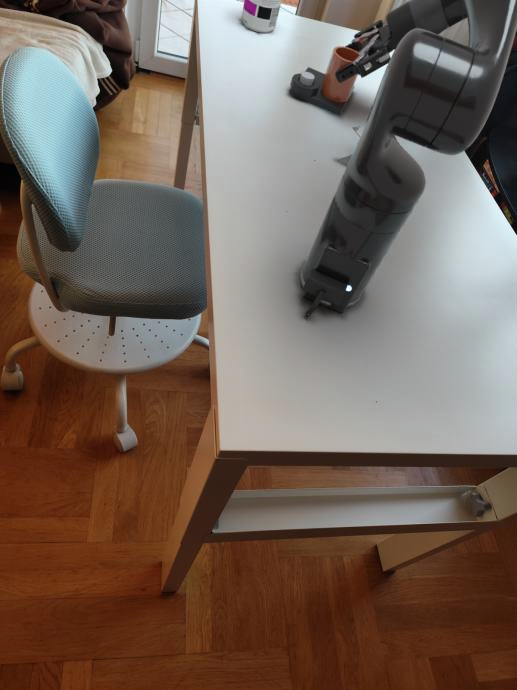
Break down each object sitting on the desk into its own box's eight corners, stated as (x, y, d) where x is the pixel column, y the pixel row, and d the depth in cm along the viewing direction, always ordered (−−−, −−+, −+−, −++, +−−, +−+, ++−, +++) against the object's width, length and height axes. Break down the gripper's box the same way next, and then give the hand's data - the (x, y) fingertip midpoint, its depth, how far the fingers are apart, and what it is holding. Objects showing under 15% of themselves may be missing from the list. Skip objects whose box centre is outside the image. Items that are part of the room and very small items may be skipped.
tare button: (310, 88, 98) (312, 80, 97) (297, 82, 98) (299, 75, 97) (313, 82, 100) (316, 75, 99) (301, 77, 100) (303, 69, 99)
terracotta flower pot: (337, 105, 99) (351, 65, 93) (314, 89, 101) (327, 49, 94) (354, 98, 102) (369, 59, 96) (331, 83, 104) (345, 44, 98)
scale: (338, 118, 99) (343, 104, 97) (285, 95, 99) (289, 81, 97) (352, 92, 107) (357, 78, 104) (302, 71, 107) (306, 57, 105)
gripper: (427, 58, 88) (344, 102, 96) (419, 25, 96) (343, 68, 104) (414, 17, 83) (328, 67, 91) (406, -13, 92) (328, 35, 99)
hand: (336, 68), depth 97 cm, fingers open, 8 cm apart
